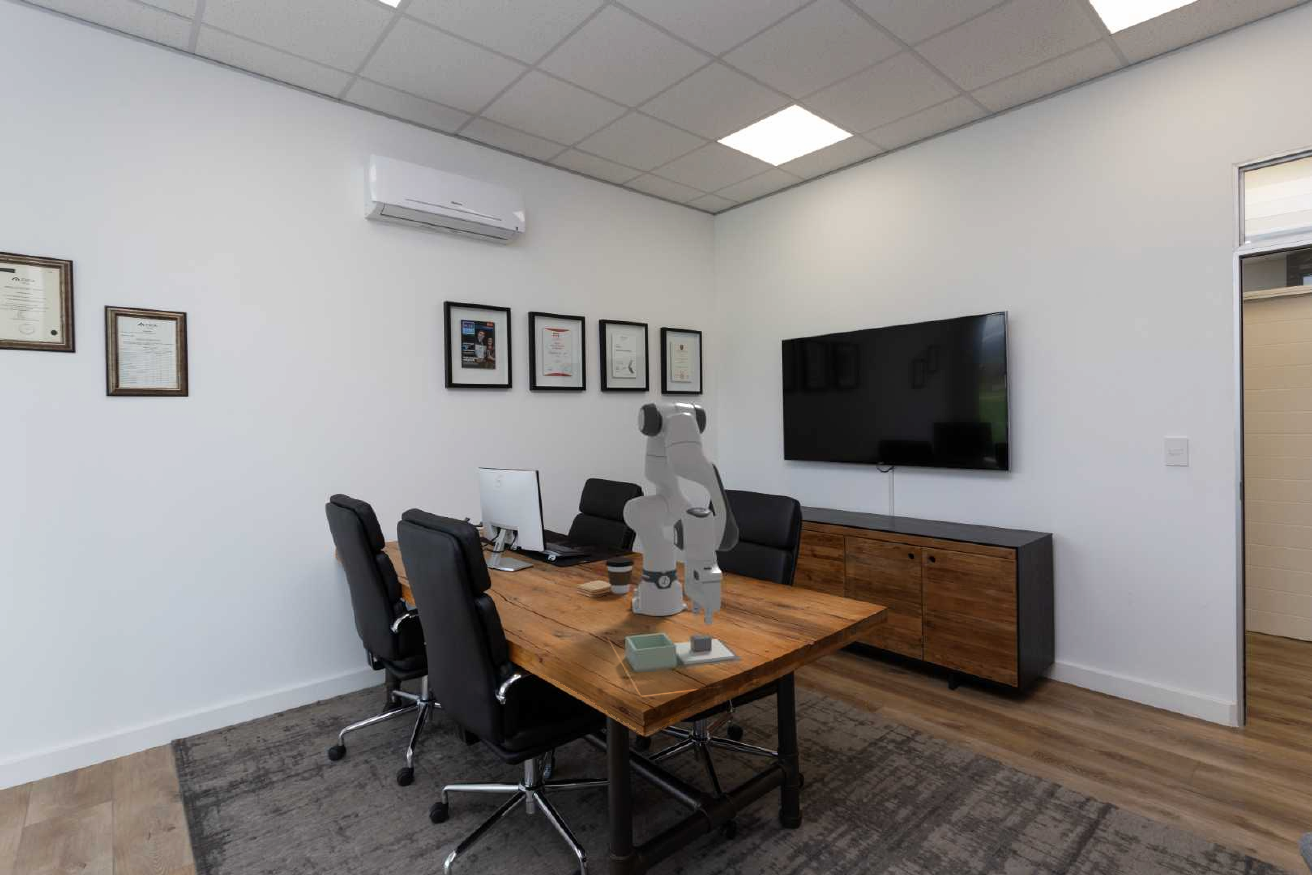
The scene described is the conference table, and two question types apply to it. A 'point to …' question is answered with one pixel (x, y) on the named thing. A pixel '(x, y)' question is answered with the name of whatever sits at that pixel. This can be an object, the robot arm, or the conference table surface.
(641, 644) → the pale green open box
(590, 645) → the conference table surface
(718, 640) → the mat
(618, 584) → the coffee cup
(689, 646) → the lid
